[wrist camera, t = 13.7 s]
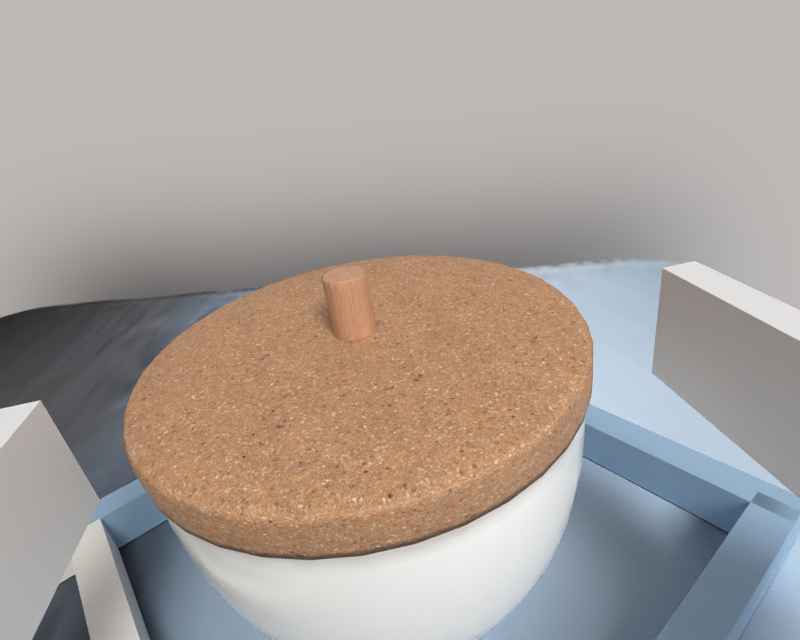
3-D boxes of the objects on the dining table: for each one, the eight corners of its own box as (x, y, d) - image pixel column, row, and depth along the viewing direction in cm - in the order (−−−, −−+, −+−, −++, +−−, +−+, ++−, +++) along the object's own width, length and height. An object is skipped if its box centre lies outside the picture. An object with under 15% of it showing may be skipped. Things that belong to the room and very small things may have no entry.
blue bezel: (97, 540, 18) (78, 510, 17) (420, 353, 26) (417, 328, 25) (339, 1332, 6) (311, 1341, 5) (796, 538, 14) (808, 500, 13)
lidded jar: (250, 877, 10) (-1, 561, 5) (219, 496, 19) (117, 266, 14) (677, 625, 12) (742, 285, 8) (470, 401, 21) (448, 185, 17)
